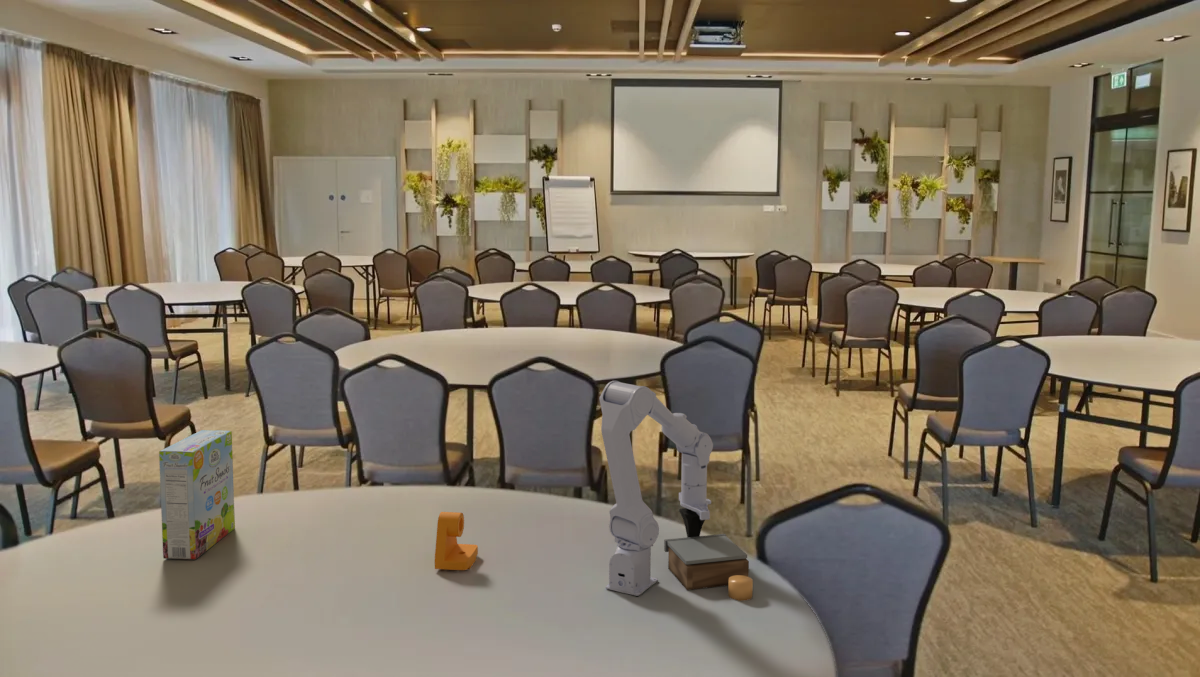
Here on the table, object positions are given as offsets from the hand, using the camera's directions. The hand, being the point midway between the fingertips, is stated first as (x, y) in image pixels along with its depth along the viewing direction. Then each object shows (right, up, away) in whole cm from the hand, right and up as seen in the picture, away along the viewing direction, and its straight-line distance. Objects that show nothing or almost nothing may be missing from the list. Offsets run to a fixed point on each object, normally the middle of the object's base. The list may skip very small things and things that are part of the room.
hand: (693, 540), depth 209 cm
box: (+2, -6, -8) cm, 10 cm away
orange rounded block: (+8, -8, -18) cm, 21 cm away
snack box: (-117, -4, +11) cm, 118 cm away
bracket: (-54, -5, -1) cm, 54 cm away
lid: (+2, -2, -7) cm, 8 cm away
